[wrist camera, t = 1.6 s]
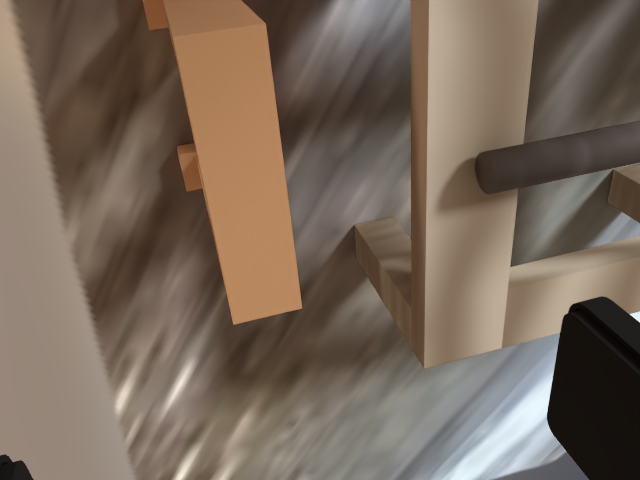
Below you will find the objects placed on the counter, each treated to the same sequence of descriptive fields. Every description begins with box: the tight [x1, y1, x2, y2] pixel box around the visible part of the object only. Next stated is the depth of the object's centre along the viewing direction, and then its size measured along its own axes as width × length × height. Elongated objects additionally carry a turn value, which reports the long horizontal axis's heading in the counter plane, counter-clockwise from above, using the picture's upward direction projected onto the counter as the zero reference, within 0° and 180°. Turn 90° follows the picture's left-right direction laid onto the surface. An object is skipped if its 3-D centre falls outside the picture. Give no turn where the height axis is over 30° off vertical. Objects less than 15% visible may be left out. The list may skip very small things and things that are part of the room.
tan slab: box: [142, 0, 302, 325], centre depth 23 cm, size 4×10×13 cm, turn 7°
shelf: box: [355, 0, 640, 369], centre depth 27 cm, size 20×20×12 cm
